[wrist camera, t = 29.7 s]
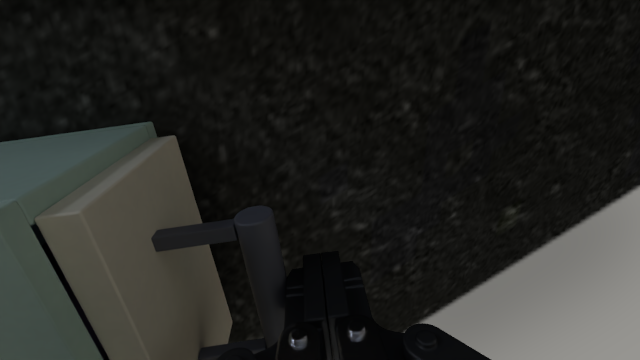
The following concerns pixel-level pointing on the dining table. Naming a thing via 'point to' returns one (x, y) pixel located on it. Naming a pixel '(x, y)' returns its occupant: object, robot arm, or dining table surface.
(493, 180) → the dining table surface
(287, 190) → the dining table surface
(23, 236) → the cabinet
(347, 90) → the dining table surface
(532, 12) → the dining table surface
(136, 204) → the drawer
